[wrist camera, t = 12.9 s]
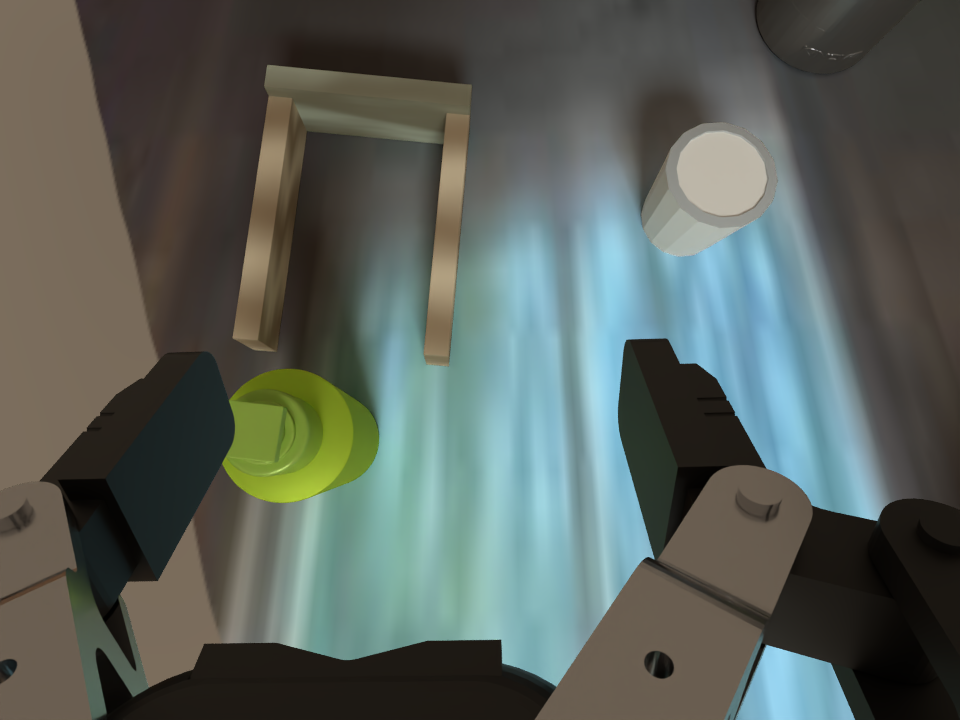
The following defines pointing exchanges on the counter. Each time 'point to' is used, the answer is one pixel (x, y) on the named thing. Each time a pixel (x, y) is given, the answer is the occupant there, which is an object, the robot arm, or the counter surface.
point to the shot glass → (708, 188)
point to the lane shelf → (358, 112)
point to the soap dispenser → (297, 436)
